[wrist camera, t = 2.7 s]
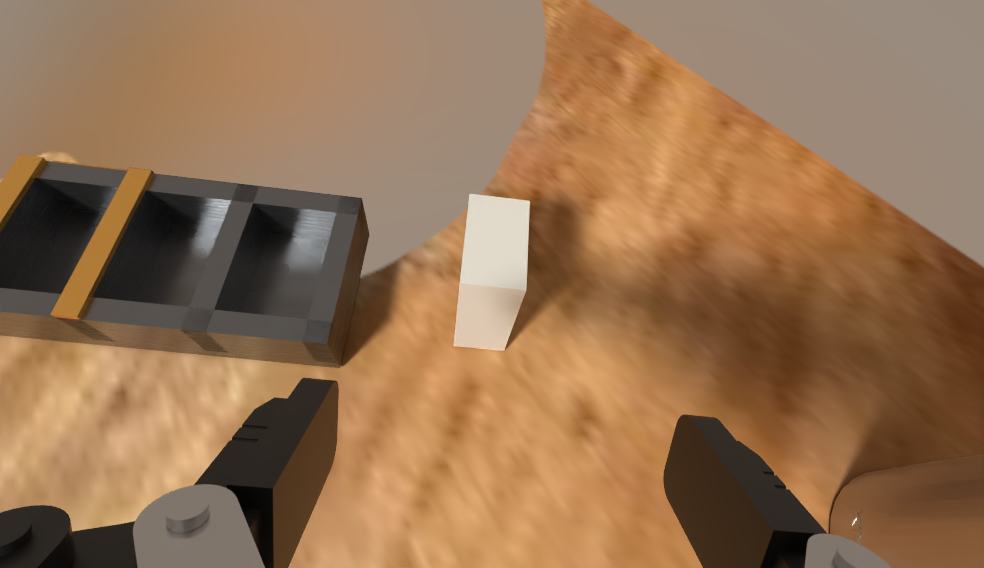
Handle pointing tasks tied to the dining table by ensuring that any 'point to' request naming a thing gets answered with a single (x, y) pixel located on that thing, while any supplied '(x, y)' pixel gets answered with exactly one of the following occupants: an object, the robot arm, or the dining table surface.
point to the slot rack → (177, 263)
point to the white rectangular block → (492, 271)
